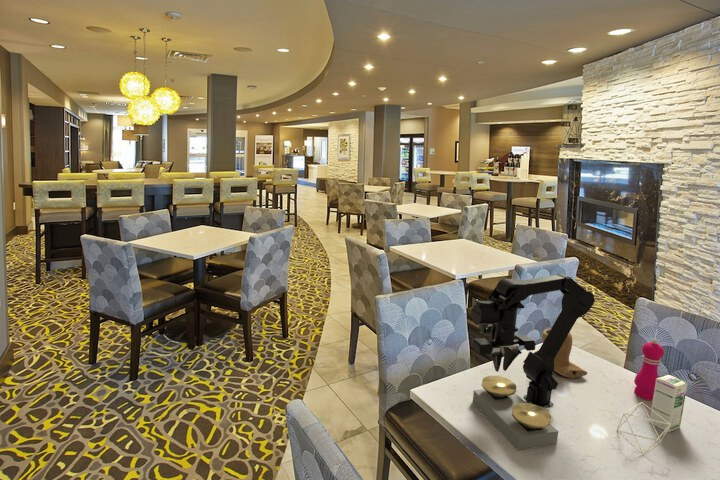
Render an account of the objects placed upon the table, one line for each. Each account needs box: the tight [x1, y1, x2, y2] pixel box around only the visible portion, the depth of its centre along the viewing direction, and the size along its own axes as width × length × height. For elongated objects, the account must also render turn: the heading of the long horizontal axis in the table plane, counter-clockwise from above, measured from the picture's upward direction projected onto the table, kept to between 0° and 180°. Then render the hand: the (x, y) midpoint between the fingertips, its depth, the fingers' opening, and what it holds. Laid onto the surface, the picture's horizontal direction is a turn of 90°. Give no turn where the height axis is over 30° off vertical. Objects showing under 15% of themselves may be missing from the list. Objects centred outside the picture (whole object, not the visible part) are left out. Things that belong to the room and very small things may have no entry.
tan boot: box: [541, 327, 588, 379], centre depth 165 cm, size 15×12×15 cm
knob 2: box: [512, 402, 552, 432], centre depth 125 cm, size 10×10×5 cm
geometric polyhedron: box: [616, 401, 671, 456], centre depth 126 cm, size 12×11×9 cm
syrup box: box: [648, 374, 688, 433], centre depth 134 cm, size 6×6×14 cm
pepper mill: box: [633, 338, 665, 401], centre depth 150 cm, size 7×7×20 cm
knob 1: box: [481, 375, 517, 400], centre depth 140 cm, size 10×10×5 cm
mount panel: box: [472, 388, 559, 451], centre depth 133 cm, size 12×24×4 cm, turn 15°
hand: (500, 370), depth 139 cm, fingers open, 2 cm apart
